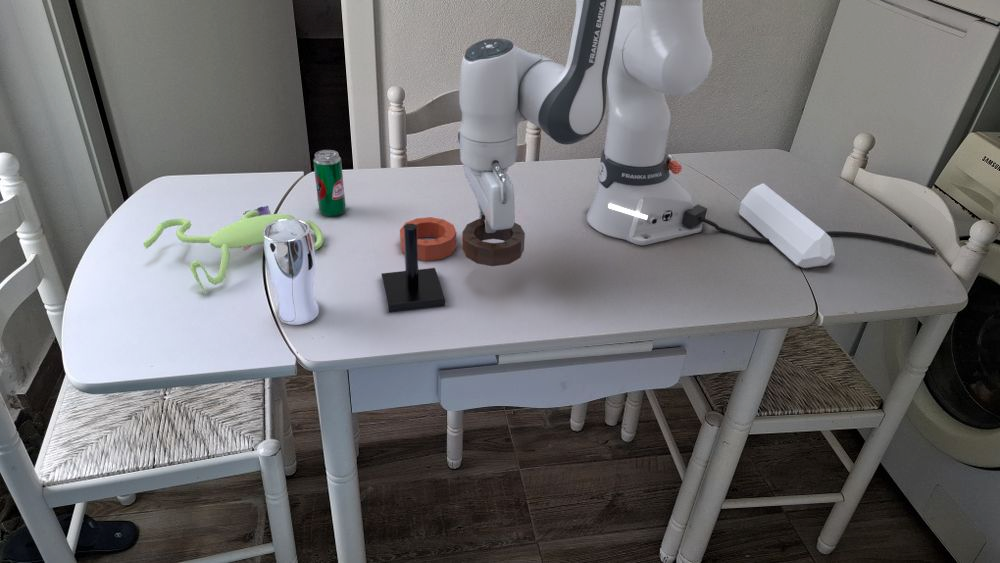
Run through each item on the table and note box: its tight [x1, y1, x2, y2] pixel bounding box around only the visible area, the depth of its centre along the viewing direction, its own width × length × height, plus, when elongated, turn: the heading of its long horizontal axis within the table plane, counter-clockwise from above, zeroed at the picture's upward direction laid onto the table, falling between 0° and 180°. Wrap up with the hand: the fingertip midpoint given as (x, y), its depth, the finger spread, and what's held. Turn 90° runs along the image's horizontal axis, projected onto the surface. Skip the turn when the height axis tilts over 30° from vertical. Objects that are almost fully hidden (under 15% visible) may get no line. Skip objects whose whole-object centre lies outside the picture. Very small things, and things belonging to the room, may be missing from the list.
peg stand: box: [381, 224, 446, 313], centre depth 109 cm, size 9×9×12 cm
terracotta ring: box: [399, 216, 457, 262], centre depth 123 cm, size 10×10×3 cm
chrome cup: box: [262, 218, 320, 326], centre depth 102 cm, size 7×7×15 cm
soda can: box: [312, 149, 347, 218], centre depth 130 cm, size 5×5×12 cm
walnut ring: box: [461, 218, 526, 267], centre depth 112 cm, size 10×10×3 cm
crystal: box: [738, 182, 836, 269], centre depth 131 cm, size 7×7×24 cm
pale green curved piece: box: [143, 205, 324, 295], centre depth 119 cm, size 18×27×6 cm
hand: (487, 225), depth 115 cm, fingers closed on walnut ring, 2 cm apart
